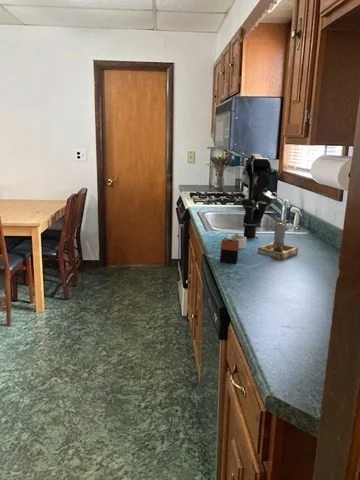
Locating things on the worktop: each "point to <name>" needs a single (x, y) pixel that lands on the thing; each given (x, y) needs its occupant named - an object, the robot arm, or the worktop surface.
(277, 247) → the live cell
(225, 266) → the worktop surface
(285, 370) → the worktop surface
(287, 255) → the wooden tray
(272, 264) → the worktop surface
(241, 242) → the cup
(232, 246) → the battery
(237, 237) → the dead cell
